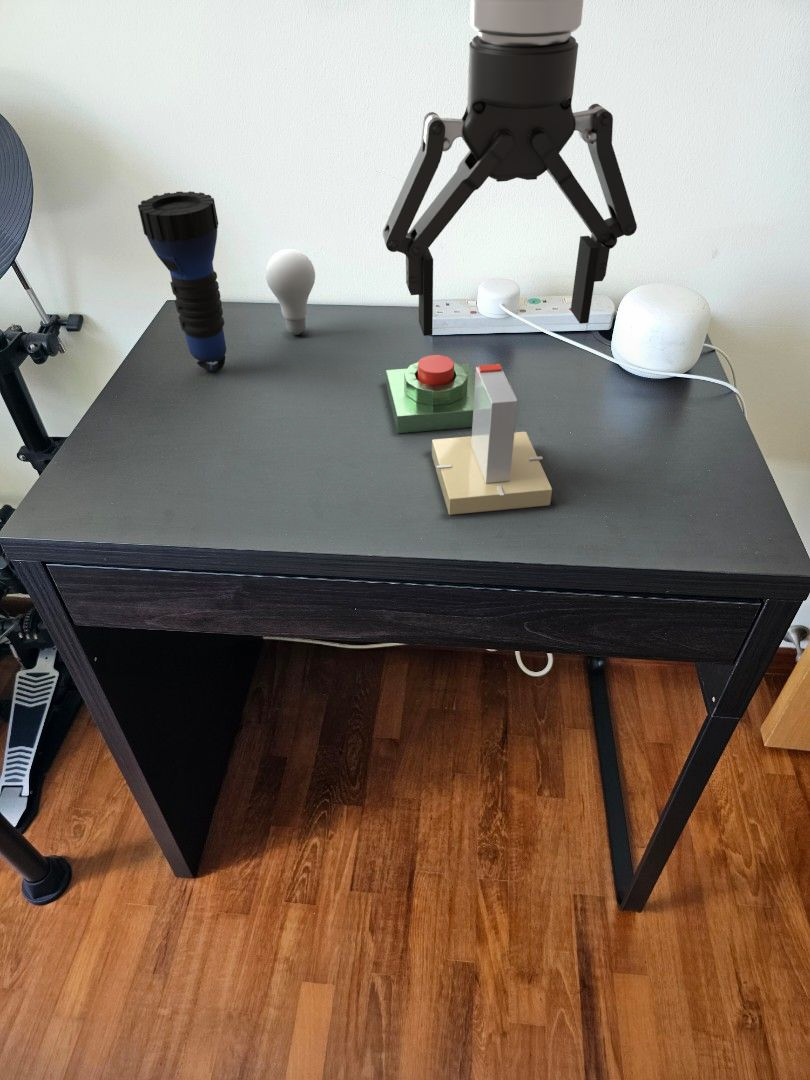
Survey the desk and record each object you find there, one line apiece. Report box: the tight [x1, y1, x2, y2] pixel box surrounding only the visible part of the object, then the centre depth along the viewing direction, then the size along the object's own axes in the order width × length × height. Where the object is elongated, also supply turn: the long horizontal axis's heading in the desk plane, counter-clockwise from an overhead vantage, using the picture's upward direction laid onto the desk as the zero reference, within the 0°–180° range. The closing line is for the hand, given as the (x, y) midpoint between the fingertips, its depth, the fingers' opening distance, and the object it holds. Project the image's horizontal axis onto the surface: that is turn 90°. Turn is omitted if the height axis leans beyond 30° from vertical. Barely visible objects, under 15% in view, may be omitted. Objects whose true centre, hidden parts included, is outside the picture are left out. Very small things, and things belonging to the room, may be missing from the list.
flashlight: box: [137, 190, 227, 372], centre depth 90 cm, size 8×8×20 cm
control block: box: [385, 361, 475, 434], centre depth 89 cm, size 10×10×4 cm
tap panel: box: [431, 431, 553, 516], centre depth 79 cm, size 11×11×2 cm
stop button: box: [417, 354, 454, 386], centre depth 87 cm, size 4×4×2 cm
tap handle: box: [471, 363, 519, 483], centre depth 75 cm, size 6×2×9 cm, turn 9°
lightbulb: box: [265, 248, 316, 336], centre depth 100 cm, size 6×6×11 cm
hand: (503, 322), depth 68 cm, fingers open, 13 cm apart
